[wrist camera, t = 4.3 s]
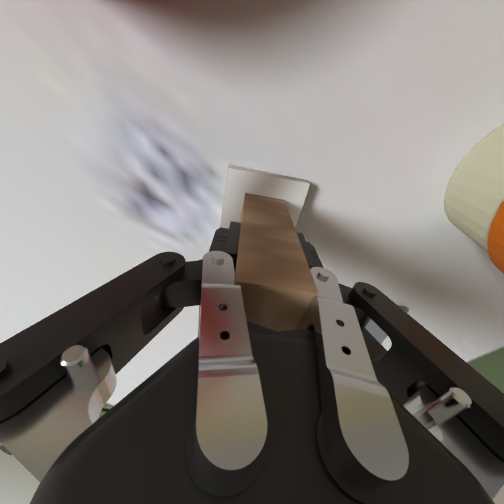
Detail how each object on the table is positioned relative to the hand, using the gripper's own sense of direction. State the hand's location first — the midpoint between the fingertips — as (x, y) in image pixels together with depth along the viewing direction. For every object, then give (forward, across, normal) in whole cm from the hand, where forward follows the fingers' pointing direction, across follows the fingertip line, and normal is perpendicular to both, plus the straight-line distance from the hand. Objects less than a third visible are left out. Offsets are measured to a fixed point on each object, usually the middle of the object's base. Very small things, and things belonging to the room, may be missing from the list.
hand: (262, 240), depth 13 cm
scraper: (+5, 0, 0) cm, 5 cm away
